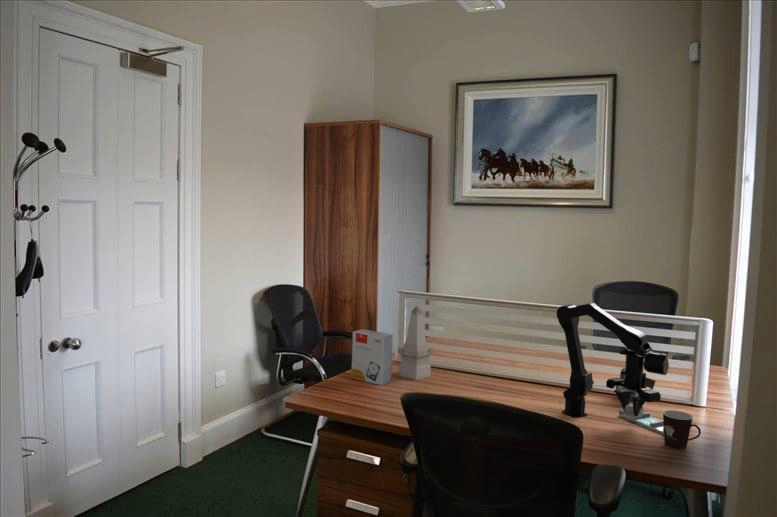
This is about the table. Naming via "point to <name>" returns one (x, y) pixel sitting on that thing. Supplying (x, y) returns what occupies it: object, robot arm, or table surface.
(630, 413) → the usb wall charger
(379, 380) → the hard drive box
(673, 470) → the table surface
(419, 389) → the table surface
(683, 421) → the coffee mug
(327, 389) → the table surface
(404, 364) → the miniature monument
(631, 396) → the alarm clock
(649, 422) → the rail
